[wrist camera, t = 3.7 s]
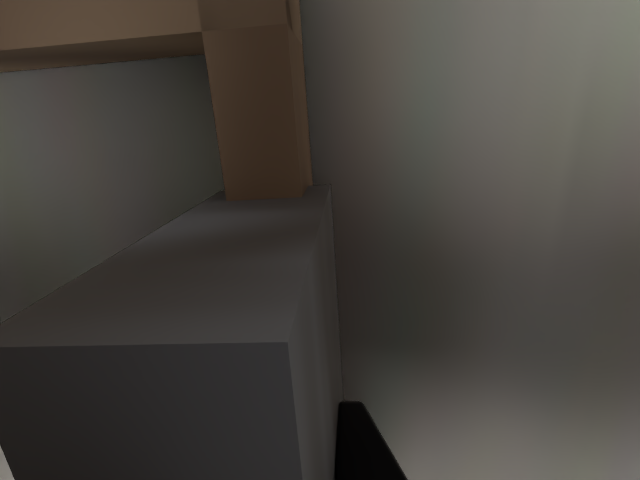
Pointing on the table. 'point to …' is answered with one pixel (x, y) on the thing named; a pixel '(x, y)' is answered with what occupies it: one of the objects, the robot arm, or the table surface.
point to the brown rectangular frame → (187, 275)
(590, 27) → the table surface
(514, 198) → the table surface
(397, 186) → the table surface
